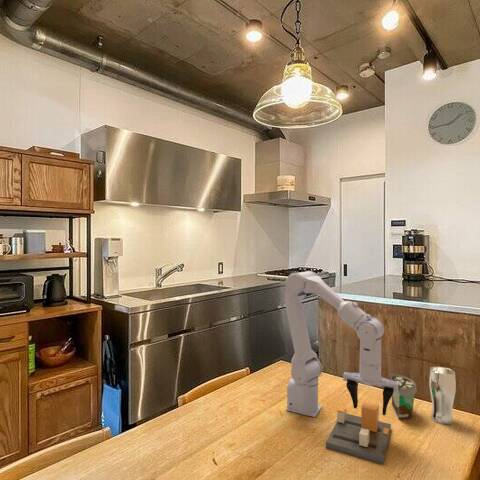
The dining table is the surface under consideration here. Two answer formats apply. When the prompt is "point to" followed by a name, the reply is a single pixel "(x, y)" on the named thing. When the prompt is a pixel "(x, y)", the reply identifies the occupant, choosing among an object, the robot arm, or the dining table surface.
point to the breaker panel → (348, 439)
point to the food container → (403, 397)
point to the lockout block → (370, 416)
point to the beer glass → (442, 394)
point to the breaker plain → (364, 437)
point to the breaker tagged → (341, 414)
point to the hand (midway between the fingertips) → (369, 410)
